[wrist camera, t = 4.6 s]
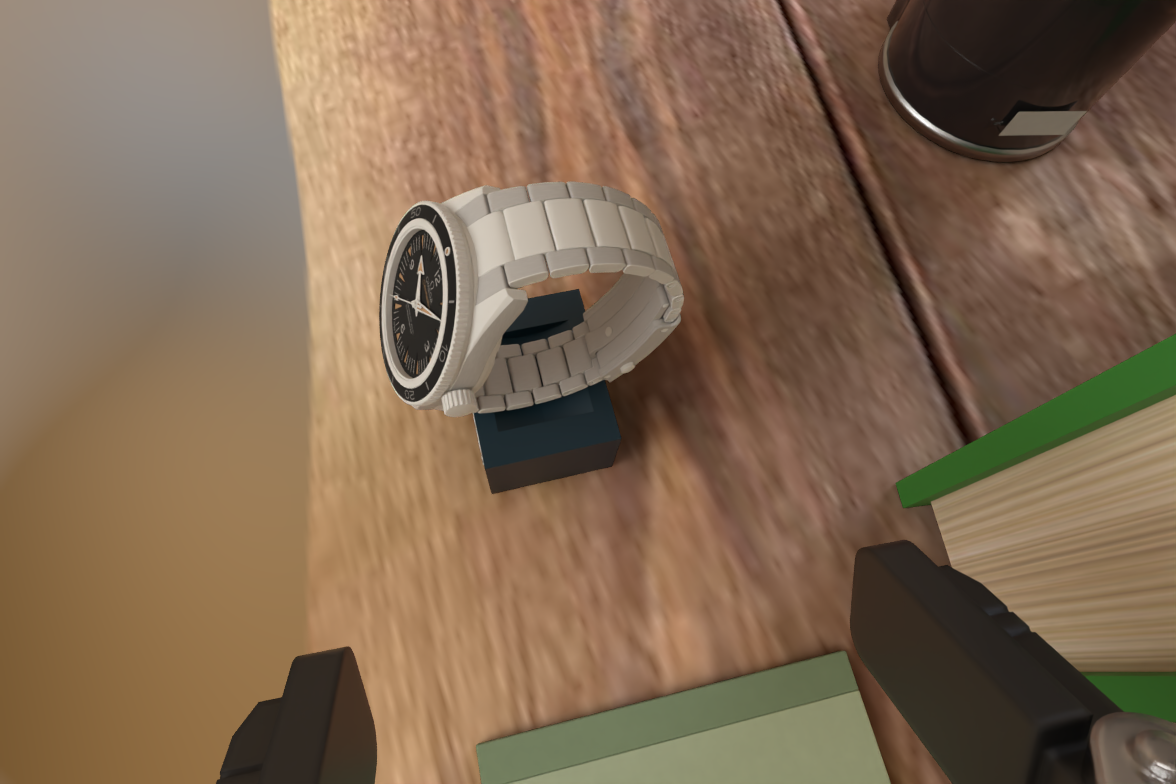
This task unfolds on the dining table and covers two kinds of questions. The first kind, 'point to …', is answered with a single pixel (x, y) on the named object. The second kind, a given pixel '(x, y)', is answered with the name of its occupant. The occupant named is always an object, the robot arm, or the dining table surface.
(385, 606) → the dining table surface
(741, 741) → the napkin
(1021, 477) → the hardback book
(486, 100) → the dining table surface
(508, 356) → the watch
